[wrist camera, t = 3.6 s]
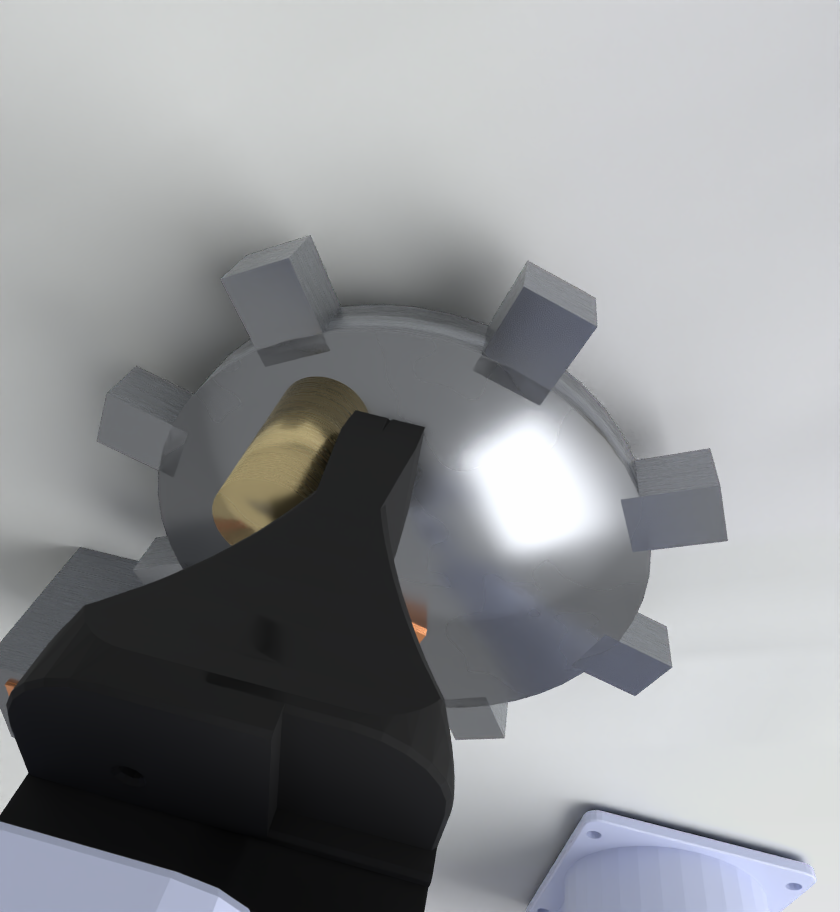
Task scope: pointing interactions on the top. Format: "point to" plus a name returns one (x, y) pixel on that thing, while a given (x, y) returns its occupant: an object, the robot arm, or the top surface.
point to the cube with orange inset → (60, 611)
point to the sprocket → (435, 473)
